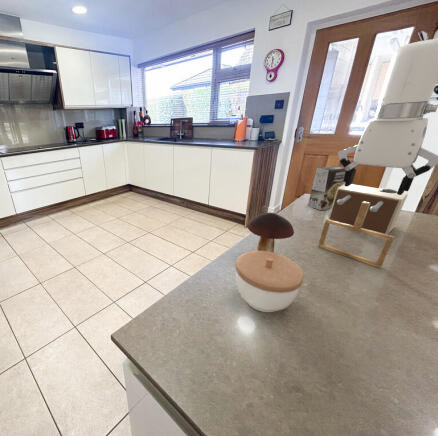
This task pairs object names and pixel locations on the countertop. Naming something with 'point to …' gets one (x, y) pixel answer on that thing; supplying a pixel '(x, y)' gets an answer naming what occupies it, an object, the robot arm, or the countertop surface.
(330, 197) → the coffee box
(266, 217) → the decorative mushroom
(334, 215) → the cabinet
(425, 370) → the countertop surface
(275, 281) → the lidded bowl
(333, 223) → the wooden frame with handle
